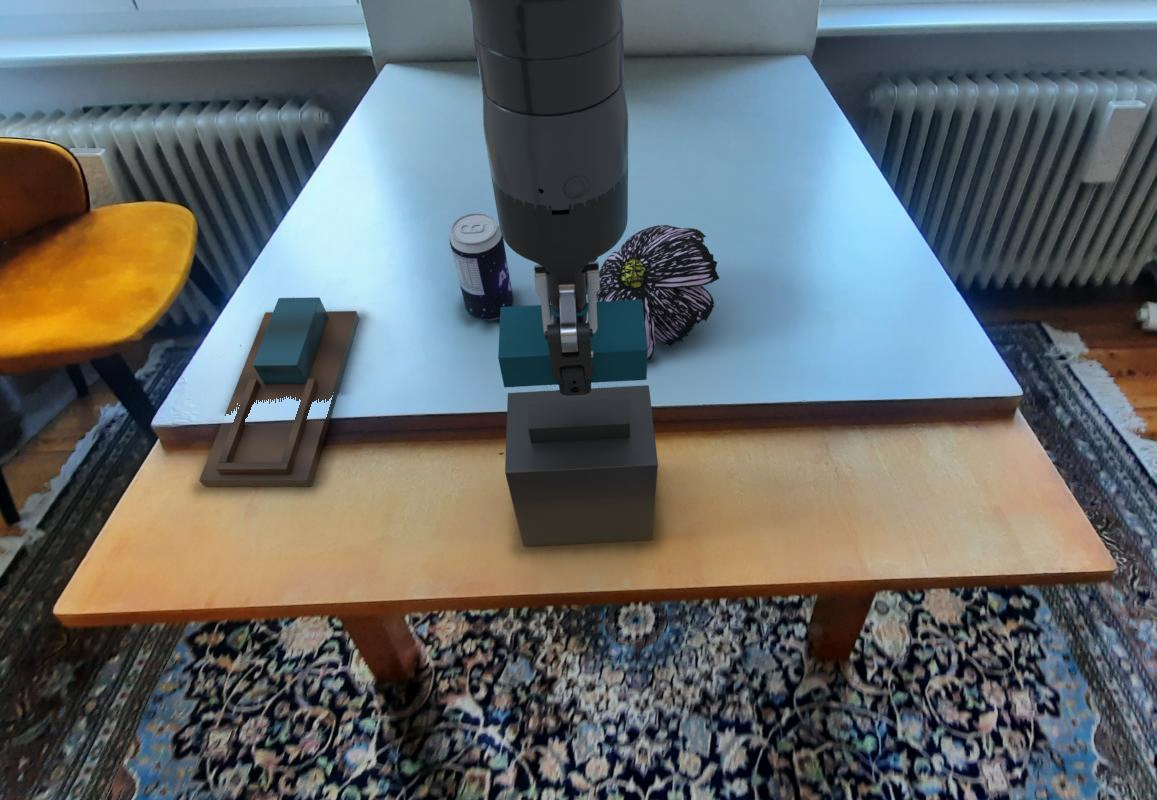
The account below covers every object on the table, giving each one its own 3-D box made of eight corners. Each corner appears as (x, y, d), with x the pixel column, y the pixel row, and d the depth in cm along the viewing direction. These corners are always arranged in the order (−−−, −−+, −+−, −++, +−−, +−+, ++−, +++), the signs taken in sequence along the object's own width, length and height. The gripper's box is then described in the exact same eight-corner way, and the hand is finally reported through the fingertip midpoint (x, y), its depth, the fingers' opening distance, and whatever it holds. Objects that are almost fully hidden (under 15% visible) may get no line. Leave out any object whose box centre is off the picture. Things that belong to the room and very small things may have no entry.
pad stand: (523, 546, 68) (501, 459, 56) (524, 472, 73) (504, 377, 61) (652, 540, 67) (659, 451, 56) (645, 466, 72) (649, 369, 60)
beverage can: (512, 324, 85) (498, 244, 75) (464, 325, 85) (443, 246, 75) (515, 290, 88) (502, 209, 79) (469, 291, 88) (450, 211, 79)
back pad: (504, 387, 51) (497, 358, 49) (506, 337, 54) (500, 306, 52) (646, 380, 51) (648, 350, 49) (641, 330, 54) (641, 298, 52)
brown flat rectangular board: (311, 486, 73) (295, 462, 69) (204, 486, 73) (183, 463, 70) (359, 317, 87) (348, 290, 83) (268, 319, 87) (254, 292, 84)
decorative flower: (554, 236, 79) (685, 180, 77) (581, 282, 90) (696, 234, 88) (595, 353, 74) (737, 296, 72) (619, 387, 85) (742, 338, 83)
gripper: (494, 90, 44) (524, 295, 57) (482, 249, 35) (521, 446, 49) (619, 83, 44) (619, 290, 57) (638, 240, 35) (633, 441, 49)
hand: (574, 361), depth 53 cm, fingers closed on back pad, 4 cm apart
